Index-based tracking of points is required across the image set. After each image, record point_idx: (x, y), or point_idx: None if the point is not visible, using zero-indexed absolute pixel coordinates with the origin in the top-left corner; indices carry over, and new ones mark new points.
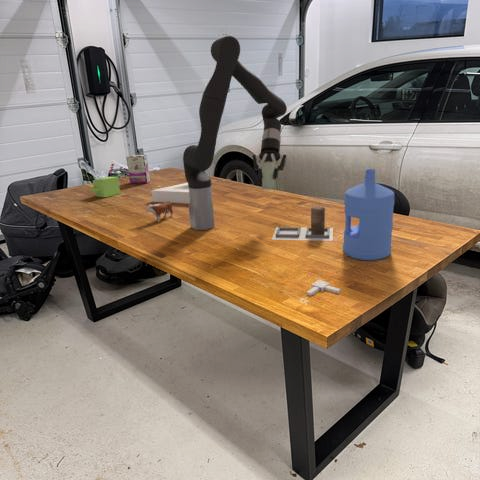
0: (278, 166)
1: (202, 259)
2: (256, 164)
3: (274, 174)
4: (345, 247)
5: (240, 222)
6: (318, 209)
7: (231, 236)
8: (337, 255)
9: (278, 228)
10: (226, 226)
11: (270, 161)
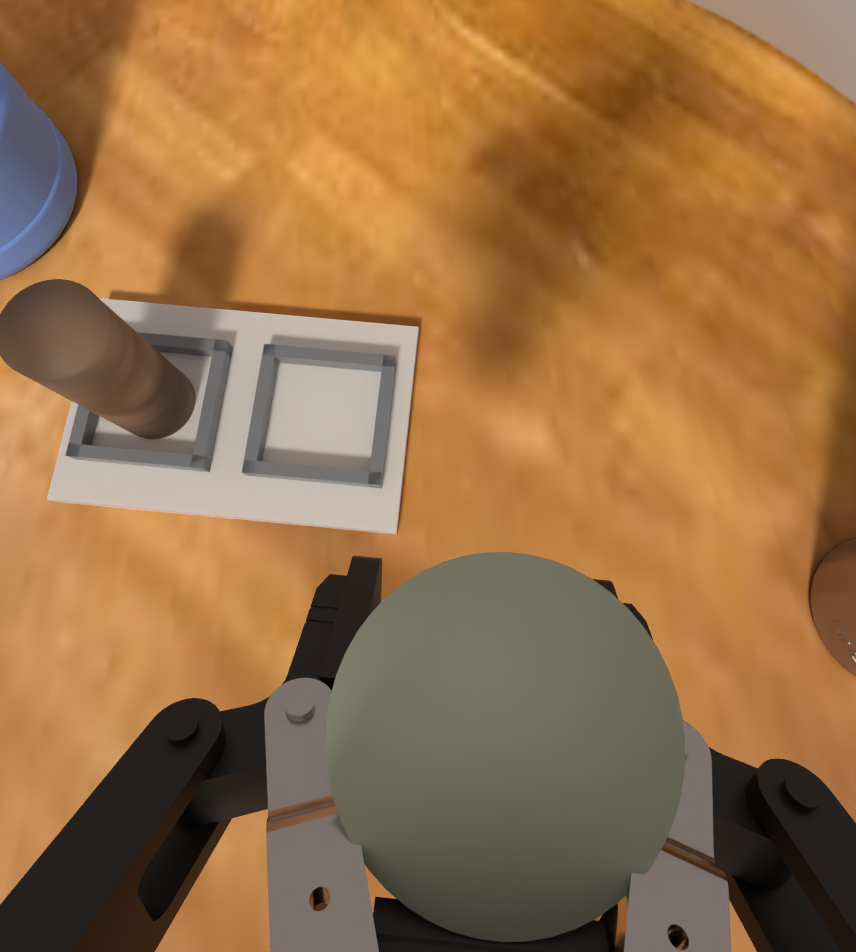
0: (249, 758)
1: (720, 145)
2: (804, 843)
3: (361, 582)
4: (55, 143)
5: None
6: (53, 295)
7: (653, 426)
8: (116, 170)
9: (380, 457)
10: (728, 611)
11: (437, 914)
